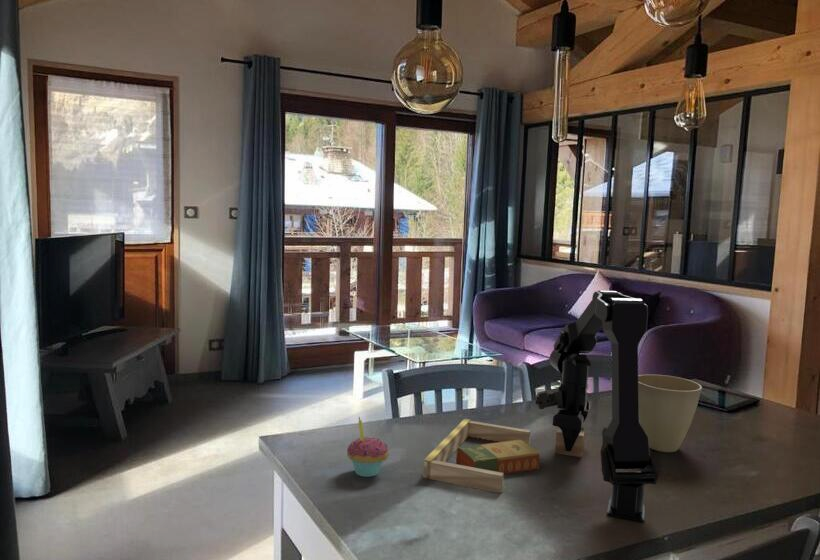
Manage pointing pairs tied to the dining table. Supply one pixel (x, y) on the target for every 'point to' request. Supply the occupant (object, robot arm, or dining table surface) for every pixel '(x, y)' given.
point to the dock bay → (463, 474)
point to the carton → (499, 456)
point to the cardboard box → (577, 447)
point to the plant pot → (666, 409)
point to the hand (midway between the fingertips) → (570, 446)
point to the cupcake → (367, 454)
